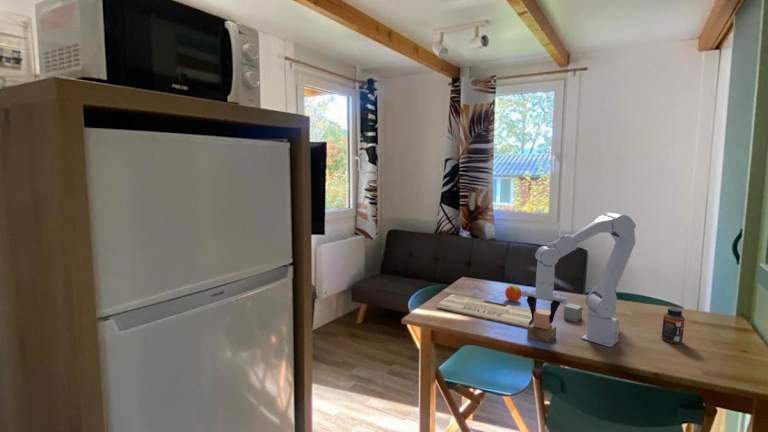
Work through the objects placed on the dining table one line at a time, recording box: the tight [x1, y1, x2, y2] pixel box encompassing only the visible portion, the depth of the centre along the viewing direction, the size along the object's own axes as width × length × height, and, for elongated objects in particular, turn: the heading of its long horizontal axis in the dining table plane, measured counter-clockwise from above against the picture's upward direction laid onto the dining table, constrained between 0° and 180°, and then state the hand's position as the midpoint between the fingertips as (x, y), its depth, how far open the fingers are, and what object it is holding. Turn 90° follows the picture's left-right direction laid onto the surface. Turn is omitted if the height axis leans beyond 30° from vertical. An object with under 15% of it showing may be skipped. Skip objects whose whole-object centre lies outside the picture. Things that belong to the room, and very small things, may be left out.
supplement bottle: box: [661, 306, 686, 344], centre depth 143 cm, size 6×6×11 cm
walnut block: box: [526, 323, 557, 344], centre depth 145 cm, size 7×7×4 cm
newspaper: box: [436, 294, 533, 329], centre depth 170 cm, size 37×19×3 cm, turn 57°
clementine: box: [504, 285, 522, 302], centre depth 183 cm, size 8×7×7 cm
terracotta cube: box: [532, 308, 553, 329], centre depth 145 cm, size 5×5×5 cm
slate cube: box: [563, 302, 583, 322], centre depth 164 cm, size 5×5×5 cm
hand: (542, 319), depth 145 cm, fingers open, 5 cm apart
